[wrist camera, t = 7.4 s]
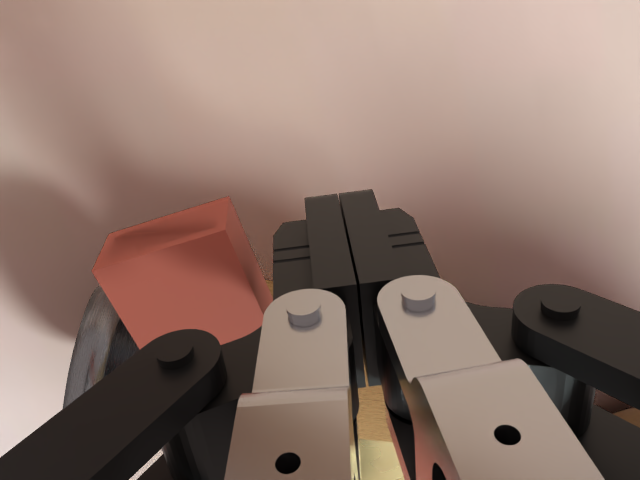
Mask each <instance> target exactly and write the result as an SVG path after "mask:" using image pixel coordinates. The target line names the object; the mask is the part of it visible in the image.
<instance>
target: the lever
mask: <svg viewBox="0 0 640 480" xmlns="http://www.w3.org/2000/svg"><path fill="white" fill-rule="evenodd" d="M92 273H93V274H94V276H95V278H96V279H97V281H98V283H99V284H100V286H101V287H102V289H103V291H104V292H105V294H106V296H107V297H108V299H109V300H110V302H111V304H112V305H113V307H114V309H115V310H116V312H117V313H118V315H119V317H120V318H121V320H122V322H123V323H124V325H125V326H126V328H127V330H128V331H129V333H130V335H131V336H132V338H133V339H134V341H135V343H136V344H137V346H138V348H139V349H141V348H143V347H144V346H145V345H147V344H148V343H149V342H151V341H152V340H154V339H156V338H158V337H159V336H162V335H164V334H166V333H169V332H173V331H177V330H182V329H198V330H203V331H207V332H209V333H211V334H212V335H214V336H215V337H216V338H217V340H218V341H219V343H220V345H223V344H225V343H228V342H231V341H234V340H237V339H239V338H242V337H244V336H246V335H248V334H250V333H252V332H254V331H255V330H257V329H258V328H259V327H260V326H262V323H263V317H264V313H265V311H266V309H267V307H268V306H269V305H270V304H271V303H272V302H273V297H272V295H271V293H270V290H269V288H268V286H267V283H266V281H265V279H264V276H263V274H262V272H261V269H260V267H259V265H258V262H257V260H256V258H255V255H254V253H253V251H252V248H251V246H250V244H249V241H248V239H247V237H246V234H245V232H244V230H243V227H242V225H241V223H240V220H239V218H238V216H237V213H236V211H235V209H234V206H233V204H232V202H231V199H230V197H229V196H227V197H224V198H221V199H218V200H215V201H211V202H208V203H205V204H202V205H199V206H196V207H192V208H189V209H186V210H183V211H180V212H176V213H173V214H170V215H167V216H164V217H161V218H157V219H154V220H151V221H148V222H145V223H141V224H138V225H135V226H132V227H129V228H126V229H122V230H119V231H116V232H113V233H110V234H109V235H108V237H107V239H106V241H105V243H104V245H103V248H102V250H101V252H100V254H99V256H98V258H97V260H96V263H95V265H94V267H93V269H92Z"/></svg>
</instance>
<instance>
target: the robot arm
mask: <svg viewBox="0 0 640 480" xmlns="http://www.w3.org/2000/svg"><path fill="white" fill-rule="evenodd" d="M339 203H340V204H339ZM305 208H306V219H307V220H301V221H293V222H285V223H283V224H282V225H281V226H280V228H279V229H278V230H277V232H276V233H275V234H274V236H273V251H274V252H273V263H274V264H273V302H272V303H271V304H270V305H269V306H268V307H267V309H266V311H265V313H264V317H263V323H262V326H260V327H259V328H258V329H257V330H255V331H254V332H252V333H250V334H248V335H246V336H244V337H242V338H239V339H237V340H234V341H231V342H228V343H225V344H223V345H220V343H219V341H218V340H217V338H216V337H215V336H214V335H212V334H211V333H209V332H207V331H203V330H198V329H182V330H177V331H173V332H169V333H166V334H164V335H162V336H159V337H158V338H156V339H154V340H152V341H151V342H149V343H148V344H147V345H145V346H144V347H143V348H141V349H140V350H139V351H137V352H136V353H135V354H134V355H132V356H131V357H130V358H128V359H127V360H126V361H125V362H123V363H122V364H121V365H119V366H118V367H117V368H116V369H114V370H113V371H112V372H110V373H109V374H108V375H106V376H105V377H104V378H103V379H101V380H100V381H99V382H97V383H96V384H95V385H94V386H92V387H91V388H90V389H88V390H87V391H86V392H85V393H83V394H82V395H81V396H79V397H78V398H77V399H75V400H74V401H73V402H72V403H70V404H69V405H68V406H66V407H65V408H64V409H63V410H61V411H60V412H59V413H57V414H56V415H55V416H53V417H52V418H51V419H50V420H48V421H47V422H46V423H44V424H43V425H42V426H41V427H39V428H38V429H37V430H35V431H34V432H33V433H32V434H30V435H29V436H28V437H26V438H25V439H24V440H22V441H21V442H20V443H19V444H17V445H16V446H15V447H13V448H12V449H11V450H10V451H8V452H7V453H6V454H4V455H3V456H2V457H1V458H0V480H129V479H130V478H131V477H132V476H133V475H134V474H135V473H136V472H137V471H138V470H139V469H140V468H141V467H142V466H144V465H145V464H146V463H147V462H148V461H149V460H150V459H151V458H152V457H153V456H154V455H155V454H156V453H157V452H158V451H159V450H160V449H161V448H162V451H163V455H162V456H161V457H160V458H159V459H158V460H157V461H156V462H154V463H153V464H152V465H151V466H150V467H149V468H148V469H147V470H146V471H145V472H144V473H143V474H142V475H141V476H140V477H139V478H138V479H137V480H361V468H360V451H359V435H358V421H357V414H358V411H359V395H358V388H364V387H366V382H365V371H364V365H365V370H366V375H367V380H368V385H369V387H370V386H377V385H381V386H382V390H383V395H384V404H385V418H386V422H387V425H388V429H389V432H390V435H391V438H392V441H393V444H394V447H395V451H396V454H397V457H398V460H399V463H400V466H401V470H402V473H403V476H404V479H405V480H640V428H639V427H637V426H635V425H633V424H631V423H629V422H627V421H626V420H624V419H622V418H620V417H618V416H616V415H614V414H612V413H610V412H608V411H606V410H604V409H602V408H600V407H598V406H596V405H594V404H593V402H594V397H595V391H596V389H598V390H600V391H602V392H604V393H606V394H608V395H610V396H612V397H614V398H616V399H618V400H620V401H622V402H624V403H626V404H628V405H630V406H632V407H634V408H636V409H638V410H640V312H639V311H636V310H633V309H631V308H628V307H625V306H623V305H620V304H618V303H615V302H612V301H610V300H607V299H605V298H602V297H599V296H597V295H594V294H591V293H589V292H586V291H584V290H581V289H578V288H575V287H571V286H566V285H558V284H546V285H538V286H534V287H530V288H528V289H526V290H524V291H522V292H521V293H520V294H519V295H518V296H517V297H516V298H515V300H514V304H513V309H510V308H498V307H487V306H480V305H475V304H471V303H468V302H465V301H464V299H463V298H462V296H461V295H460V293H459V291H458V290H457V289H456V288H455V287H454V286H453V285H452V284H451V283H449V282H447V281H445V280H443V279H440V276H439V274H438V272H437V270H436V267H435V265H434V263H433V261H432V258H431V256H430V254H429V252H428V249H427V247H426V245H425V244H424V240H423V238H422V236H421V234H420V233H419V229H418V227H417V225H416V222H415V220H414V218H413V217H411V216H410V215H408V214H407V213H405V212H404V211H403V210H401V209H400V208H395V209H387V210H379V208H378V205H377V202H376V199H375V196H374V193H373V190H372V189H370V190H362V191H354V192H347V193H339V200H338V195H337V194H332V195H324V196H316V197H308V198H305ZM363 359H364V360H363Z"/></svg>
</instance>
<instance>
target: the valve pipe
mask: <svg viewBox="0 0 640 480" xmlns="http://www.w3.org/2000/svg"><path fill="white" fill-rule="evenodd" d="M265 281H266V283H267V286H268V288H269V290H270V293H271V295H272V297H273V281H270V280H265ZM139 350H140V349H139V348H138V346H137V344H136V343H135V341H134V339H133V338H132V336H131V335H130V333H129V331H128V330H127V328H126V326H125V325H124V323H123V322H122V320H121V318H120V317H119V315H118V313H117V312H116V310H115V309H114V307H113V305H112V304H111V302H110V300H109V299H108V297H107V296H106V294H105V292H104V291H103V289H102V287H101V286H98V287H97V288H96V289H95V290H94V292H93V294H92V296H91V298H90V300H89V302H88V305H87V307H86V310H85V313H84V315H83V318H82V321H81V325H80V328H79V331H78V335H77V338H76V342H75V346H74V350H73V354H72V359H71V363H70V368H69V373H68V378H67V384H66V390H65V396H64V404H63V409H64V408H65V407H66V406H68V405H69V404H70V403H72V402H73V401H74V400H75V399H77V398H78V397H79V396H81V395H82V394H83V393H85V392H86V391H87V390H88V389H90V388H91V387H92V386H94V385H95V384H96V383H97V382H99V381H100V380H101V379H103V378H104V377H105V376H106V375H108V374H109V373H110V372H112V371H113V370H114V369H116V368H117V367H118V366H119V365H121V364H122V363H123V362H125V361H126V360H127V359H128V358H130V357H131V356H132V355H134V354H135V353H136V352H137V351H139ZM363 360H364V359H363ZM364 371H365V382H366V387H364V388H358V395H359V411H358V414H357V421H358V435H359V451H360V468H361V480H405V479H404V476H403V473H402V470H401V466H400V463H399V460H398V457H397V454H396V451H395V447H394V444H393V441H392V438H391V435H390V432H389V429H388V425H387V422H386V418H385V404H384V395H383V390H382V386H381V385H377V386H370V387H369V385H368V380H367V375H366V370H365V365H364Z"/></svg>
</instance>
